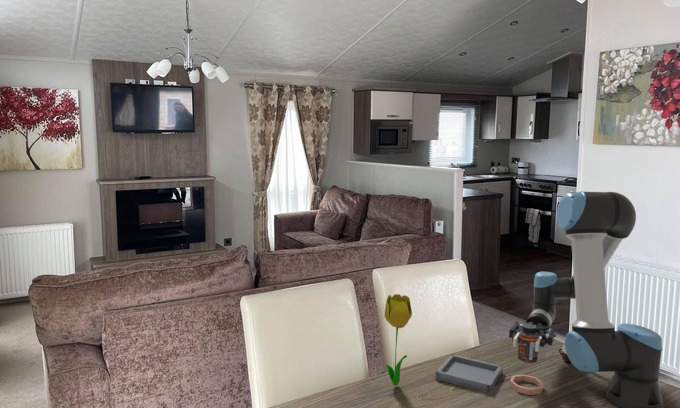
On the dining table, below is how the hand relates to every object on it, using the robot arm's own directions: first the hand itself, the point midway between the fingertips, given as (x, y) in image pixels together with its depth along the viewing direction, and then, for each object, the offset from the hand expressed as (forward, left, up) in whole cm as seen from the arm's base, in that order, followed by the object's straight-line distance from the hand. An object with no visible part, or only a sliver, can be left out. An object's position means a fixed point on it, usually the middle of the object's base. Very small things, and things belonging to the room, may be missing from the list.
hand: (525, 345), depth 161 cm
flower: (+36, +17, -16) cm, 43 cm away
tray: (+18, -3, -16) cm, 24 cm away
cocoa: (-10, -33, -16) cm, 38 cm away
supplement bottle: (0, -5, -7) cm, 9 cm away
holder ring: (0, -5, -16) cm, 16 cm away
